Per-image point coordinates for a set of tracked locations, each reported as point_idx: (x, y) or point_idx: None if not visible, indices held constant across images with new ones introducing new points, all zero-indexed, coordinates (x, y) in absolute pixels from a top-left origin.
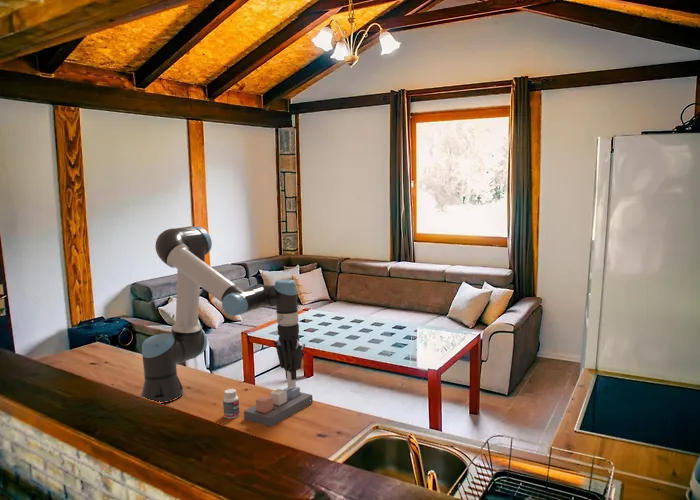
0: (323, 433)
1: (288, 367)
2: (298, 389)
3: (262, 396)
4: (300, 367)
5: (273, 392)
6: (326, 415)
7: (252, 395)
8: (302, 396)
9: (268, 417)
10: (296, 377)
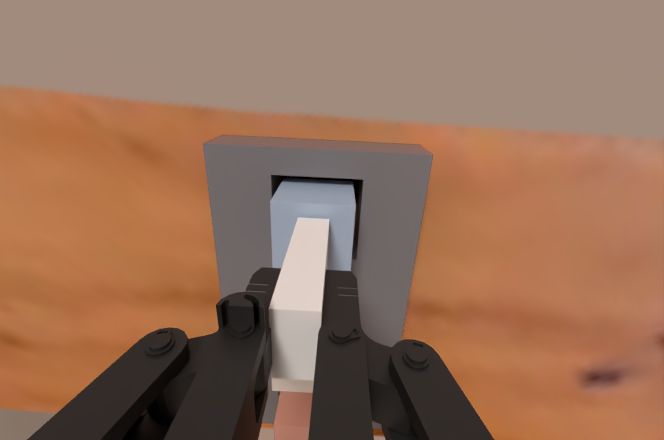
0: (604, 366)
1: (259, 379)
2: (354, 214)
3: (276, 435)
4: (438, 360)
5: (290, 384)
6: (563, 241)
7: (41, 204)
8: (384, 203)
9: (375, 428)
10: (356, 280)
